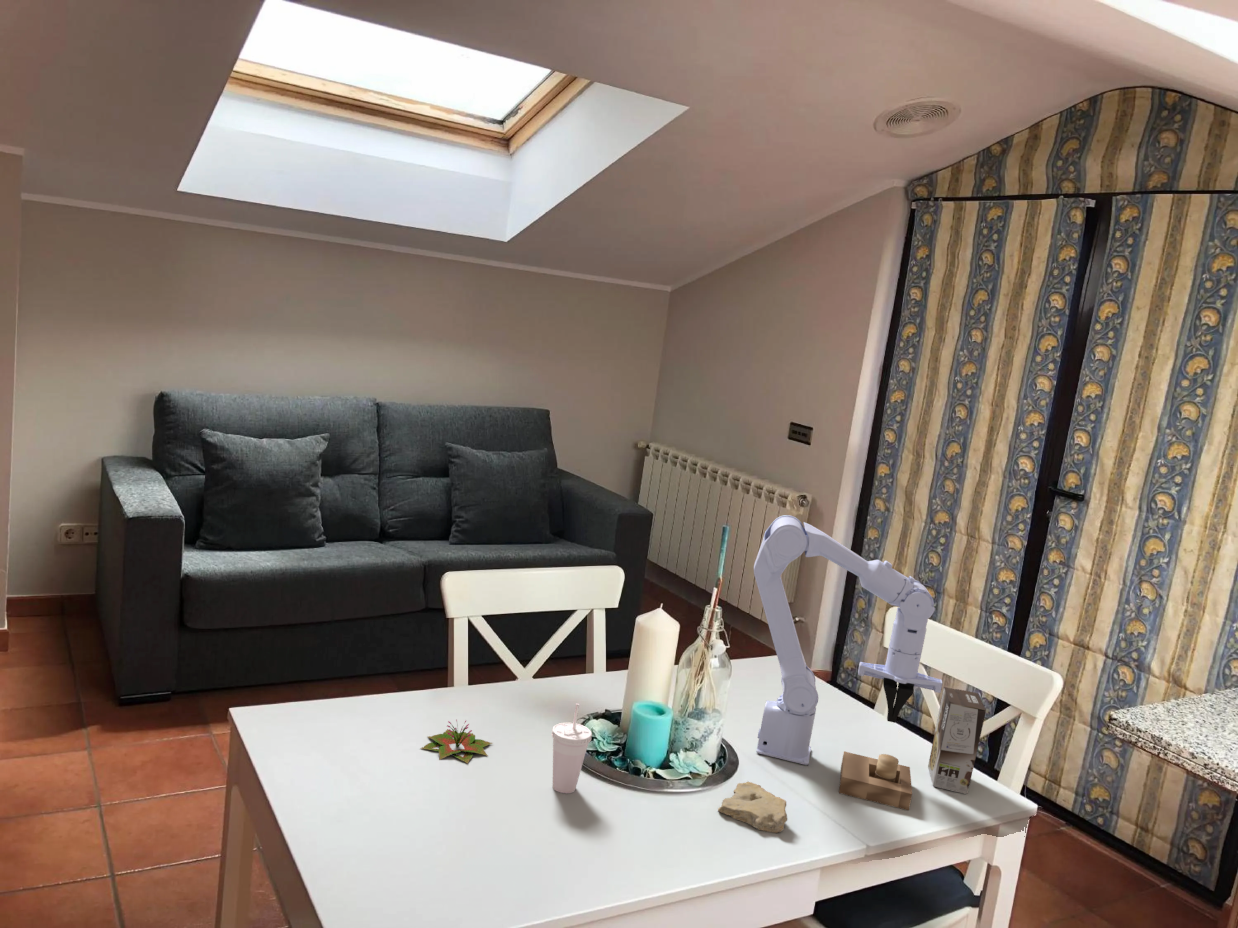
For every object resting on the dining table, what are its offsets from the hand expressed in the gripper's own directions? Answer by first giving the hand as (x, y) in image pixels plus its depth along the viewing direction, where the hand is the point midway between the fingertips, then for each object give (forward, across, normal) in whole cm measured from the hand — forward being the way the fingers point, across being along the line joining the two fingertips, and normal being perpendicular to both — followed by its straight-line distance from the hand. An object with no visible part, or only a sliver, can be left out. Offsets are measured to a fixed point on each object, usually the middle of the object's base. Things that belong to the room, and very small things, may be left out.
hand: (891, 719), depth 178 cm
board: (+10, -1, -8) cm, 13 cm away
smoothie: (+10, -50, -36) cm, 62 cm away
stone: (+10, -21, -29) cm, 38 cm away
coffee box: (+10, +12, +3) cm, 16 cm away
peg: (+10, 0, -8) cm, 13 cm away
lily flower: (+11, -70, -32) cm, 78 cm away
